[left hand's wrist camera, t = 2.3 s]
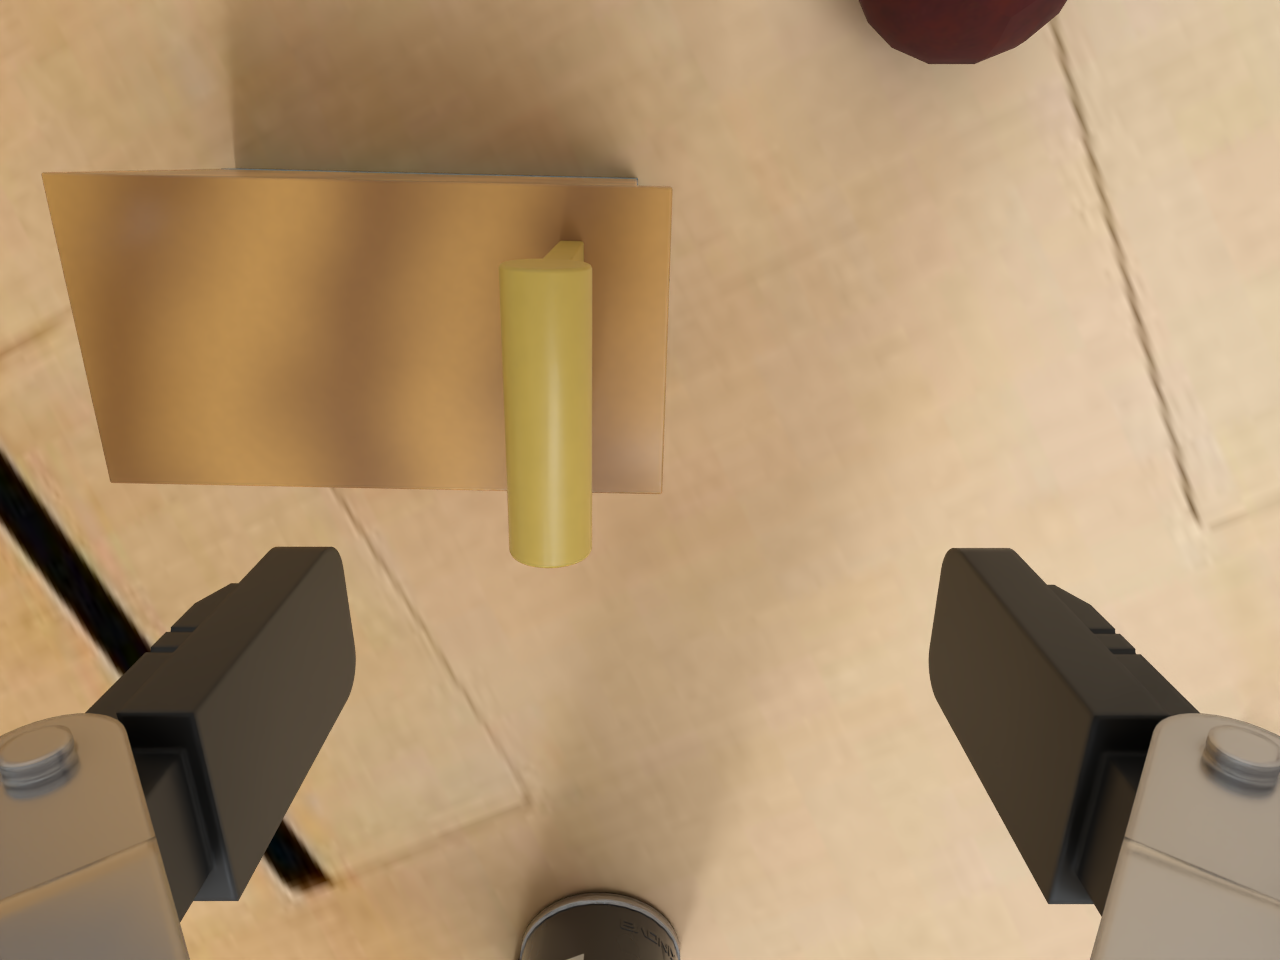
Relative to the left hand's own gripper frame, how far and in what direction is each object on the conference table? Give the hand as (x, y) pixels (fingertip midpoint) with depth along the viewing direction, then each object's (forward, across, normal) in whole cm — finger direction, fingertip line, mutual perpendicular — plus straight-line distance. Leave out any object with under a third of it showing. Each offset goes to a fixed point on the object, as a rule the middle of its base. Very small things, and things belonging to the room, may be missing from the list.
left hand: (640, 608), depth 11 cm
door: (+15, +8, -1) cm, 17 cm away
